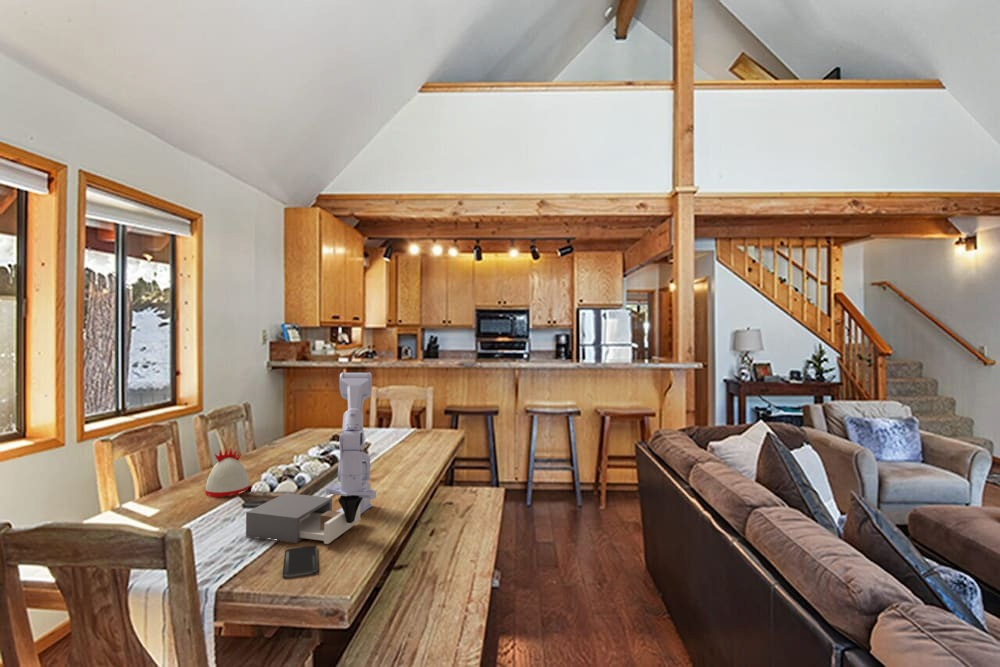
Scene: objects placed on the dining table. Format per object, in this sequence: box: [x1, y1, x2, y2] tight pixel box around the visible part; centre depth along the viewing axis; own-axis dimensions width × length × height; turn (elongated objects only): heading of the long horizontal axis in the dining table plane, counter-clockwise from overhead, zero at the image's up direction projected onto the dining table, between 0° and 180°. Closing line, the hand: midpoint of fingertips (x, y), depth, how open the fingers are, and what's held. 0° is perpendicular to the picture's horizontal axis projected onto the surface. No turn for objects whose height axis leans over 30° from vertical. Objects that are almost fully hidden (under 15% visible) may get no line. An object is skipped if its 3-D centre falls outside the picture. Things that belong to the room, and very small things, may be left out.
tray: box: [299, 504, 361, 545], centre depth 145 cm, size 16×17×5 cm
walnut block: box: [320, 510, 341, 530], centre depth 144 cm, size 4×4×4 cm
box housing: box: [245, 492, 333, 544], centre depth 147 cm, size 16×17×7 cm
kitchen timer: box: [204, 448, 251, 498], centre depth 179 cm, size 14×14×15 cm
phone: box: [282, 545, 319, 580], centre depth 126 cm, size 8×1×15 cm
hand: (350, 521), depth 142 cm, fingers closed
